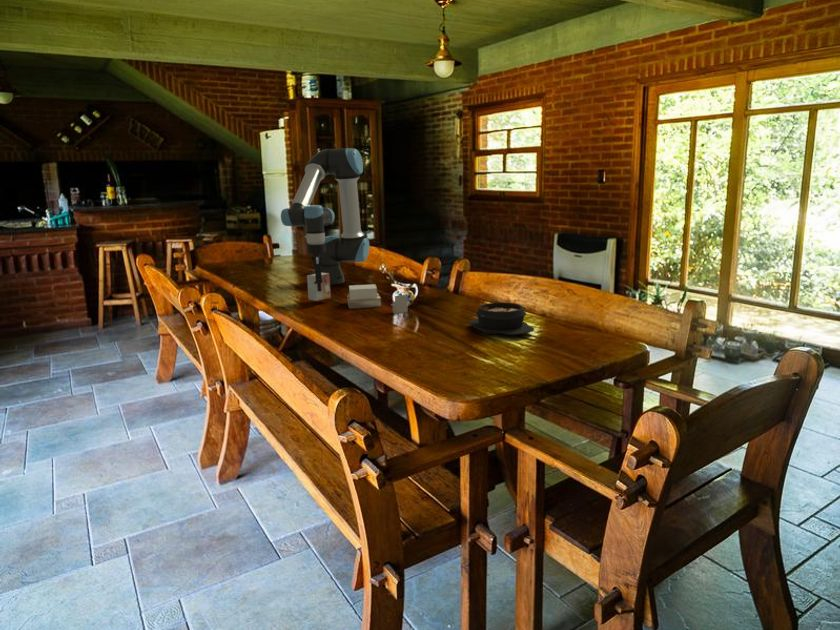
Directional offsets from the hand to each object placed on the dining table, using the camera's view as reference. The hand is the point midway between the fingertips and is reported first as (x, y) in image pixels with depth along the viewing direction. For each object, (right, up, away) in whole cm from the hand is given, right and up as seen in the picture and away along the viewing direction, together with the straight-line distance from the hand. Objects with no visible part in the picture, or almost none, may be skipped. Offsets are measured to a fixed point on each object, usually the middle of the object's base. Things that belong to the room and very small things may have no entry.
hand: (319, 296), depth 254 cm
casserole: (+70, -14, -49) cm, 87 cm away
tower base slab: (+19, -4, -4) cm, 20 cm away
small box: (0, -1, 0) cm, 1 cm away
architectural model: (+35, -8, -19) cm, 40 cm away
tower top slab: (+19, 0, -5) cm, 20 cm away
